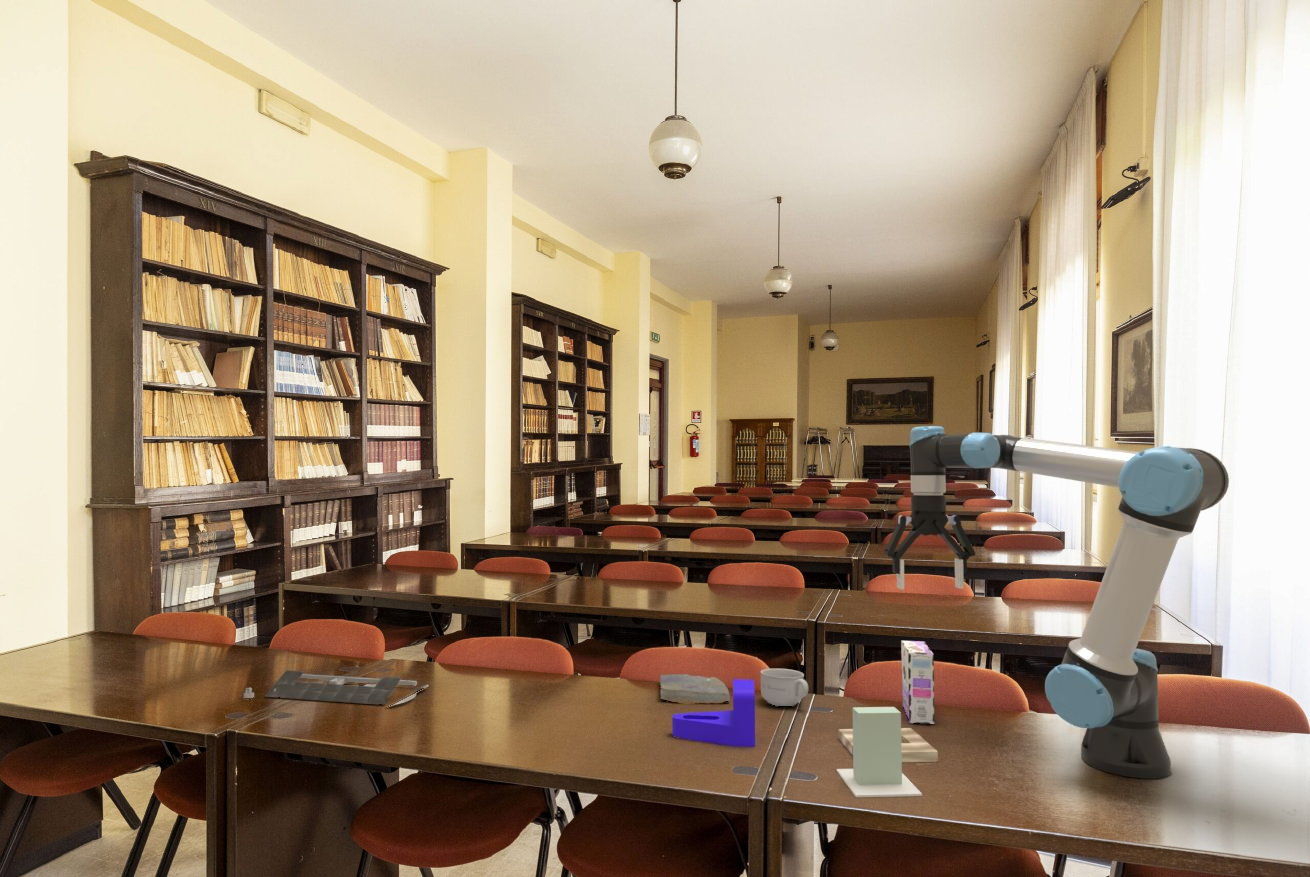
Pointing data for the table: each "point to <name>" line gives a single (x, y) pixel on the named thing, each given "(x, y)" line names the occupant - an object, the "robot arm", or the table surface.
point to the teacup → (783, 686)
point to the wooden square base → (910, 745)
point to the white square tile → (878, 787)
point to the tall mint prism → (877, 745)
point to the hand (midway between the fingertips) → (930, 588)
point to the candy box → (918, 682)
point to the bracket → (722, 720)
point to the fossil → (693, 688)
